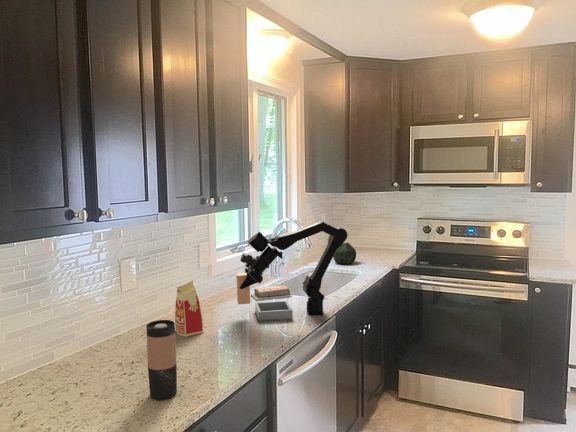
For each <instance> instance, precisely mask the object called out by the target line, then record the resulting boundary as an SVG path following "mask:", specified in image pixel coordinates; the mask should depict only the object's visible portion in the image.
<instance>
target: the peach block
mask: <svg viewBox="0 0 576 432" xmlns="http://www.w3.org/2000/svg"><path fill="white" fill-rule="evenodd" d="M235 275H236V276H235V277H236V298H237V301H236V302H237V305H249V304H250V305H251V288H250V287H251V285H250V286H248V287H246V288H244V289H240V286H241V284H242V283H243V281H244V280H245V278H246V277H247V273H245V272H238V273H237V272H236V274H235Z"/></svg>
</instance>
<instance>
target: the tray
mask: <svg viewBox="0 0 576 432" xmlns="http://www.w3.org/2000/svg"><path fill="white" fill-rule="evenodd" d="M254 310H255V316H256V318H257V320H258V322H259V323H262V322H263V323H264V322H274V321H275V322H277V321H289V320H294V319H293V317H294V316H293V315H294V314H293V309H292V307H291V306H290V303H289V302H288V301H287V300H279V301H278V300H277V301H265V302H264V301H263V302H255V303H254Z"/></svg>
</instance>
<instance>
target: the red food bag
mask: <svg viewBox="0 0 576 432" xmlns="http://www.w3.org/2000/svg"><path fill="white" fill-rule="evenodd" d="M176 289H177V290H176V299H175V309H174V310H175V311H174V312H175V313H174V323H175V333H177V335H178V336H182V337H189V336H194V335H198V334H203V333H204V331H205V330H204V321H203V320H204V319H203V314H202V309H201V308H202V307H201V303H200V300H199V296H198V293H197V290H196V288H195V285H194V280H193V279H191V280H189V281H187V282H186V283H183V284H181V285H178V286H176Z"/></svg>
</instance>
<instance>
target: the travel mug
mask: <svg viewBox="0 0 576 432" xmlns="http://www.w3.org/2000/svg"><path fill="white" fill-rule="evenodd" d="M145 328H146V350H147V351H146V352H147V372H148V373H147V374H148V385H149V386H148V388H149V397H150V398H151V399H152V400H153V401H166V400H170V399H172V398H174V397H176V395H177V393H178V392H177V390H178V389H177V388H178V387H177V386H178V384H177V382H178V381H177V379H178V378H177V377H178V373H177V372H178V371H177V369H178V368H177V347H176V341H177V340H176V330H175V321H173V320H170V319H158V320H154V321H150V322H148V323H147V324H146V327H145Z"/></svg>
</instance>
